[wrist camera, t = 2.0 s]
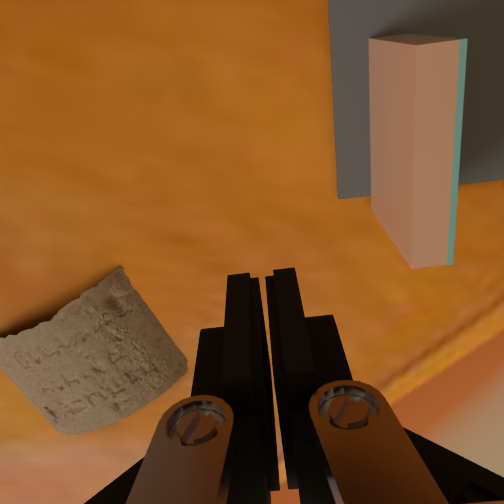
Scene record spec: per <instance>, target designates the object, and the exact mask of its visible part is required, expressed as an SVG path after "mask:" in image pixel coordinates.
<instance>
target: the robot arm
mask: <svg viewBox="0 0 504 504" xmlns="http://www.w3.org/2000/svg"><path fill="white" fill-rule="evenodd" d="M273 273H274V276H266V277H265V279H266V291H267V304H268V316H269V329H270V341H271V353H272V366H273V376H274V385H275V393H276V400H277V408H278V415H279V423H280V430H281V438H282V446H283V453H284V461H285V468H286V476H287V483H288V489H299V496H300V503H301V504H504V478H503V477H501V476H500V475H497V474H495V473H493V472H491V471H489V470H488V469H486V468H483V467H482V466H480V465H477V464H476V463H474V462H472V461H470V460H467V459H466V458H464V457H461V456H460V455H458V454H456V453H454V452H452V451H450V450H448V449H446V448H444V447H442V446H440V445H438V444H436V443H433V442H432V441H430V440H428V439H426V438H424V437H422V436H420V435H418V434H415V433H414V432H412V431H410V430H408V429H405V428H403V427H402V425H401V424H400V422H399V420H398V419H397V417H396V415H395V414H394V412H393V410H392V409H391V407H390V405H389V404H388V402H387V400H386V399H385V397H384V396H383V395H382V394H381V393H380V392H379V390H377V389H375V388H374V387H372V386H371V385H369V384H366V383H363V382H360V381H353V379H352V376H351V372H350V369H349V366H348V362H347V359H346V356H345V352H344V349H343V346H342V343H341V339H340V336H339V333H338V329H337V326H336V323H335V319H334V317H333V315H324V316H315V317H306V318H305V316H304V311H303V306H302V301H301V296H300V291H299V287H298V282H297V277H296V272H295V268H286V269H277V270H273ZM278 490H280V483H279V470H278V457H277V443H276V430H275V417H274V403H273V390H272V377H271V367H270V359H269V352H268V345H267V337H266V330H265V322H264V315H263V307H262V300H261V292H260V285H259V278H258V277H257V278H250V273H243V274H234V275H228V278H227V292H226V307H225V321H224V327H216V328H207V329H202V330H201V331H200V337H199V343H198V350H197V357H196V364H195V371H194V378H193V385H192V392H191V397H189V398H186V399H183V400H181V401H179V402H177V403H176V404H174V405H172V406H171V407H170V408H169V409H168V410H167V411H166V412H165V413H164V414H163V416H162V417H161V419H160V421H159V423H158V425H157V428H156V430H155V433H154V435H153V438H152V440H151V442H150V445H149V447H148V450H147V452H146V455H145V457H143V458H142V459H141V460H140V461H138V462H137V463H136V464H134V465H133V466H132V467H131V468H129V469H128V470H127V471H125V472H124V473H123V474H122V475H120V476H119V477H118V478H116V479H115V480H114V481H113V482H111V483H110V484H109V485H107V486H106V487H105V488H104V489H102V490H101V491H100V492H98V493H97V494H96V495H95V496H93V497H92V498H91V499H89V500H88V501H87V502H86V503H84V504H271V495H270V491H278Z"/></svg>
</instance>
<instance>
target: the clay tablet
mask: <svg viewBox="0 0 504 504" xmlns="http://www.w3.org/2000/svg"><path fill="white" fill-rule="evenodd" d="M123 269H124V268H117V269H114V271H113V272H111V273H110V274H108V275H107V276H106V277H105V278H104V279H103V280H102V281H99V283H98V285H97V287H91V288H90V289H88V290H86V291H84V292H82V293H81V294H80V298H79V299H75V300H73V301H71V302H70V303H68V304H67V305H65V306H64V307H63V308H62V309H61V310H59V311H58V313H57V314H56V315H55V316H54V317H53V318H52V320H50V321H47V322H41V323H39V325H38V326H36V327H34V328H33V329H27V330H24V331H21V332H20V333H18V334H17V335H8V336H7V337H6V338H0V369H1V370H2V371H3V373H4V374H5V375H6V376H7V377H8V378H9V379H10V380H11V381H12V382H13V383H14V384H15V385H16V386H17V387H18V388H19V389H20V390H21V391H22V392H23V394H24V395H25V396H26V397H27V398H28V399H29V400H30V402H31V403H32V404H33V405H34V406H35V407H36V408H37V409H38V410H39V411H40V412H41V413H42V414H43V416H44V417H45V418H46V419H47V420H48V421H49V422H50V423H51V425H52V426H53V427H54V428H55V429H56V430H57V431H59V432H61V433H63V434H68V435H72V434H73V435H75V434H82V433H87V432H92V431H94V430H95V429H100V428H104V427H107V426H110V425H112V424H115V423H117V422H118V421H119V420H120V419H122V418H125V417H128V416H130V415H131V414H132V413H134V412H136V411H137V410H138V409H141V408H143V407H145V406H146V405H147V404H148V403H149V402H150V401H152V400H154V399H156V398H157V397H159V396H160V395H161V394H162V393H164V392H165V391H166V390H167V389H168V388H169V387H171V385H172V384H173V383H175V382H176V381H177V379H178V378H180V377H181V376H183V375H184V374H185V373H186V371H187V370H188V369H187V367H186V363H187V360H186V358H185V356H184V355H183V353H182V352H181V351H180V350H179V349H178V348H177V346H176V345H175V343H174V342H173V340H172V339H171V338H170V337H169V335H168V334H167V333H166V332H165V330H164V328H163V327H162V325H161V324H160V323H159V321H158V320H157V318H156V317H155V315H154V314H153V313H152V312H151V310H150V309H149V308H148V306H147V305H146V303H145V302H144V301H143V299H142V298H141V296H140V295H139V293H138V292H137V291H135V290H134V289H133V288H132V286H131V284H130V281H129V278H128V277H127V276H126V274H125V273H124V271H123Z"/></svg>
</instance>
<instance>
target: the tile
mask: <svg viewBox="0 0 504 504" xmlns="http://www.w3.org/2000/svg"><path fill="white" fill-rule="evenodd" d="M368 39H369V97H370V155H371V210H372V212H373V213H374V215H375V216H376V218H377V219H378V221H379V222H380V224H381V225H382V227H383V228H384V229H385V231H386V232H387V234H388V235H389V237H390V238H391V240H392V241H393V243H394V244H395V246H396V247H397V249H398V250H399V252H400V253H401V255H402V256H403V257H404V259H405V260H406V262H407V263H408V265H409V266H410V268H411V269H416V268H424V267H433V266H441V265H450V264H453V258H454V243H455V227H456V211H457V196H458V180H459V165H460V149H461V133H462V118H463V102H464V87H465V71H466V56H467V40H468V38H455V37H443V36H430V35H418V34H398V35H391V36H383V37H376V38H368Z"/></svg>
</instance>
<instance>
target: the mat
mask: <svg viewBox="0 0 504 504" xmlns="http://www.w3.org/2000/svg"><path fill="white" fill-rule="evenodd" d="M328 3H329V24H330V44H331V65H332V85H333V106H334V126H335V146H336V167H337V187H338V198H339V199H345V198H353V197H361V196H369V195H371V155H370V97H369V39H368V38H376V37H383V36H391V35H398V34H418V35H430V36H443V37H455V38H468V40H467V56H466V71H465V87H464V102H463V118H462V133H461V149H460V165H459V180H458V185H459V184H467V183H476V182H484V181H492V180H500V179H504V0H328Z"/></svg>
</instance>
